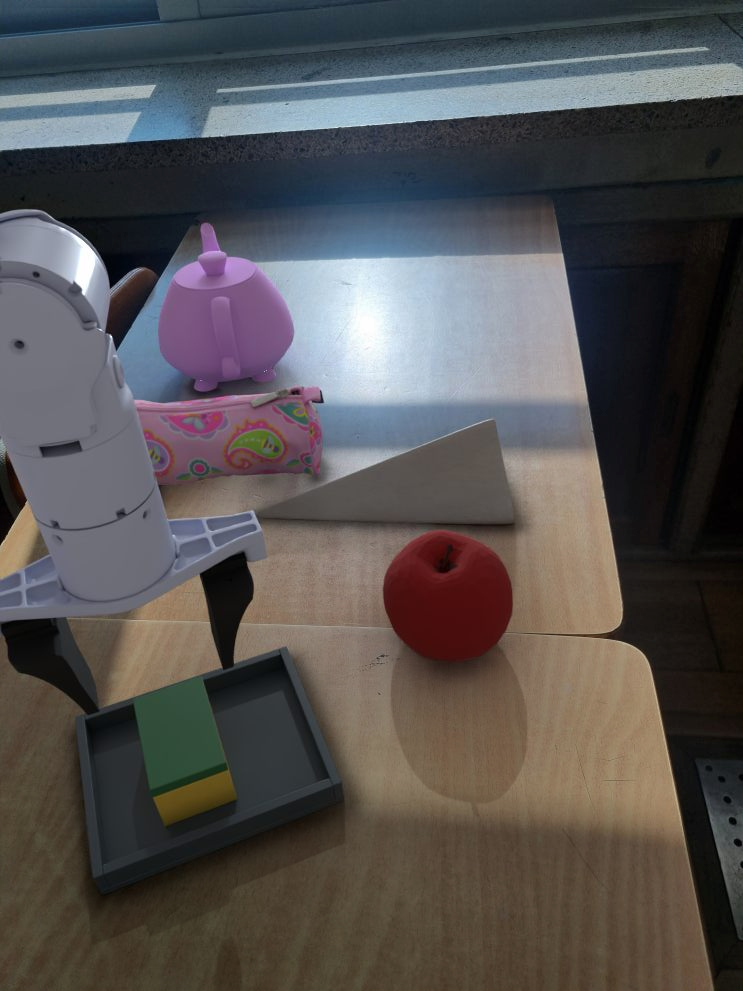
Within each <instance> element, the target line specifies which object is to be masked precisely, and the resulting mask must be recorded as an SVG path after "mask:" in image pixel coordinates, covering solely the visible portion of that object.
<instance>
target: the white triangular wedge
mask: <svg viewBox="0 0 743 991" xmlns="http://www.w3.org/2000/svg"><path fill="white" fill-rule="evenodd" d="M513 507H514V506H513V502H512V496H511V492H510V488H509V482H508V477H507V473H506V467H505V462H504V457H503V452H502V447H501V442H500V436H499V433H498V428H497V422H496V419H495V418H490V419H486V420H482V421H480V422H478V423H474V424H472V425H469V426H467V427H464V428H461V429H459V430H456V431H454V432H452V433H449V434H446V435H443V436H441V437H438V438H437V439H434V440H431V441H429V442H427V443H424V444H421V445H419V446H416V447H414V448H411V449H408V450H407V451H403V452H402V453H399V454H396V455H394V456H392V457H391V456H390V457H389V458H386V459H383V460H382V461H379V462H377V463H374V464H371V465H369V466H366V467H364V468H361V469H359V470H357V471H354V472H351V473H349V474H346V475H345V476H341V477H339V478H337V479H334V480H332V481H329V482H327V483H325V484H322V485H319V486H317V487H314V488H311V489H309V490H307V491H305V492H302V493H299V494H297V495H294V496H292V497H290V498H287V499H285V500H282V501H280V502H277V503H275V504H273V505H271V506H268V507H266V508H263V509H262V510H259V511H257V512H254V513H255V515H256V518H263V519H281V520H282V519H283V520H284V519H285V520H308V521H309V520H311V521H313V520H314V521H339V522H340V521H342V522H343V521H344V522H373V523H374V522H377V523H378V522H380V523H408V524H411V523H412V524H446V525H447V524H451V525H453V524H454V525H512V524H515V523H516V518H515V514H514V508H513Z"/></svg>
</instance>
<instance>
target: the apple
mask: <svg viewBox="0 0 743 991" xmlns="http://www.w3.org/2000/svg"><path fill="white" fill-rule="evenodd" d="M382 599H383V600H382V601H383V606H384V610H385V613H386V616H387V618H388V620H389V623H390V626H391V628H392V630H393V631H394V633H395V634H396V636H397V637H398V638H399V640H400V641H401V642H402V643H404V644H405V645H406V646H407V647H408V648H409V649H411V650H412V651H414V652H415V653H417V654H418V655H420V656H422V657H423V658H426V659H429V660H432V661H439V662H450V663H454V662H456V663H457V662H458V663H459V662H464V661H467V660H473V659H475V658H478V657H481V656H483V655H485V654H486V653H488V652H489V651H490V650H492V648H494V647H495V646H496V645H497V644H498V642H499V641H500V640H501V638H502V637H503V635H504V634H505V633H506V631H507V629H508V626H509V624H510V621H511V619H512V615H513V610H514V608H513V607H514V592H513V585H512V581H511V578H510V575H509V572H508V569H507V567H506V565H505V564H504V562H503V561H502V558H501V557H500V555H498V554H497V552H496V551H494V549H492V548H491V547H489V546H488V545H486V544H485V543H483V542H482V541H480V540H477V539H475V538H473V537H471V536H468V535H465V534H462V533H459V532H455V531H451V530H446V529H437V530H431V531H427V532H425V533H423V534H421V535H418V536H417V537H416V538H414V539H412V540H411V541H410V542H408V543H406V545H404V546H403V547H402V549H401V550H400V551H399V552H398V554H396V555H395V557H394V558H393V559H392V561H391V562H390V564H389V565H388V567H387V569H386V572H385V574H384V577H383V583H382Z"/></svg>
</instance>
